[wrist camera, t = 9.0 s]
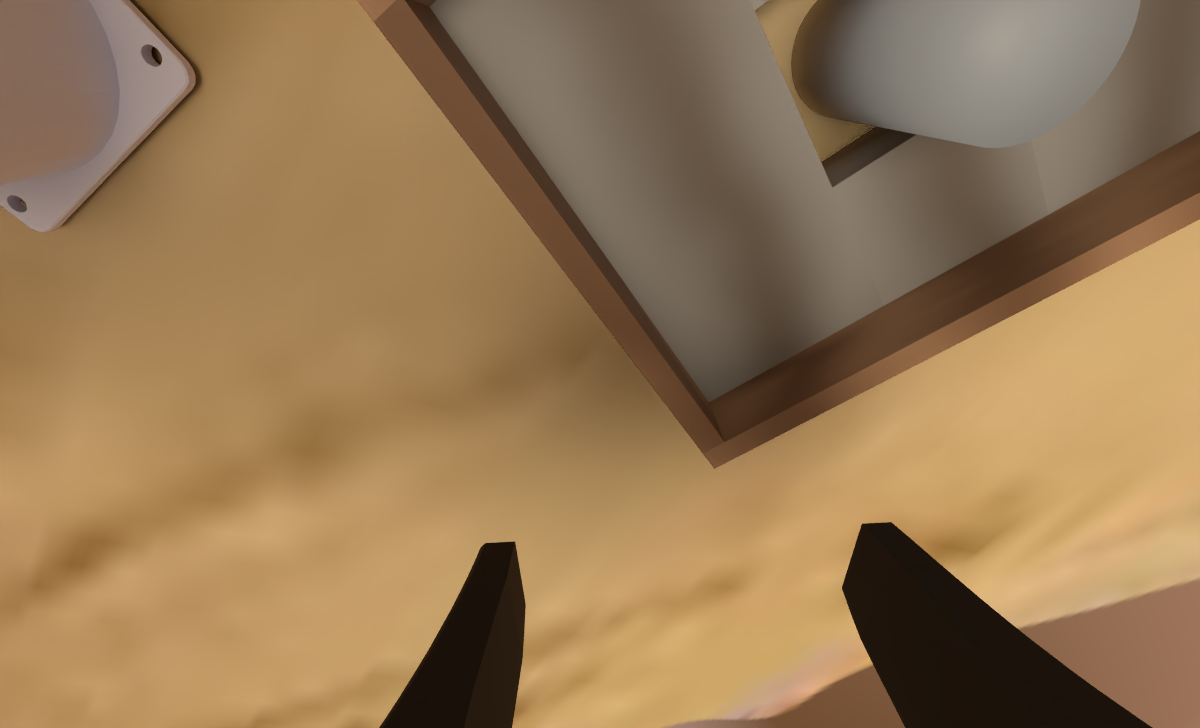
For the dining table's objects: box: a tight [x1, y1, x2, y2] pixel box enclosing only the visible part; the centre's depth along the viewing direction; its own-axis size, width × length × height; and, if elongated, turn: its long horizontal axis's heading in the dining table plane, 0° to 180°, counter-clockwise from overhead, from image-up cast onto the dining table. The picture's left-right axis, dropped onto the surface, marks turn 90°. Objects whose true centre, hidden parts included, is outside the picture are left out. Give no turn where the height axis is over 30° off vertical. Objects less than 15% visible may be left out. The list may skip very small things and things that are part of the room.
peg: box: [792, 0, 1141, 148], centre depth 12 cm, size 4×4×7 cm
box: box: [357, 0, 1200, 469], centre depth 13 cm, size 20×16×4 cm
